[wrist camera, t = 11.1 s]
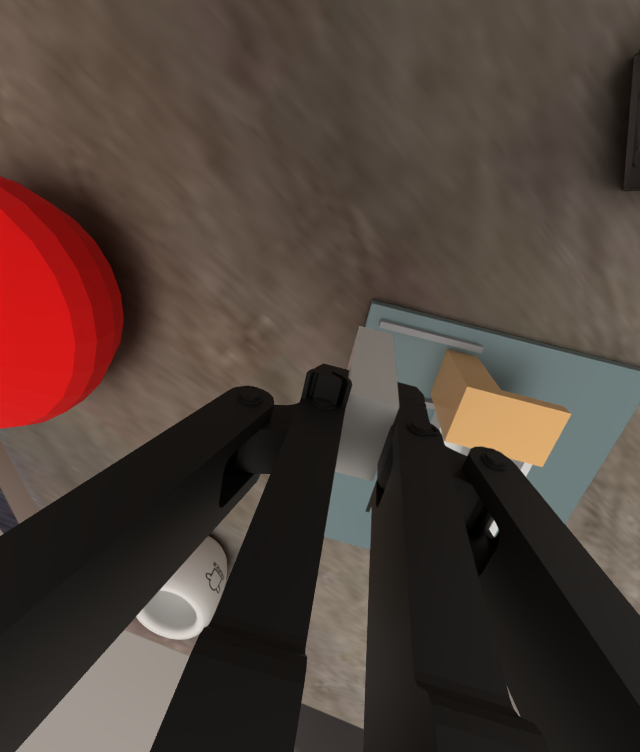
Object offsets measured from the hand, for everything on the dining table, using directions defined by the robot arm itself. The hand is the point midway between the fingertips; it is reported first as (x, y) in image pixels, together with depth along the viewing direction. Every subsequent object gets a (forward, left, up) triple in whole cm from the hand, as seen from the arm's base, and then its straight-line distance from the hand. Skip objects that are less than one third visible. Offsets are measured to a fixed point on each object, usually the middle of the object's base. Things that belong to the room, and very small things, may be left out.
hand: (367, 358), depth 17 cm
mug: (+31, -12, -16) cm, 37 cm away
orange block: (+4, +10, -14) cm, 18 cm away
